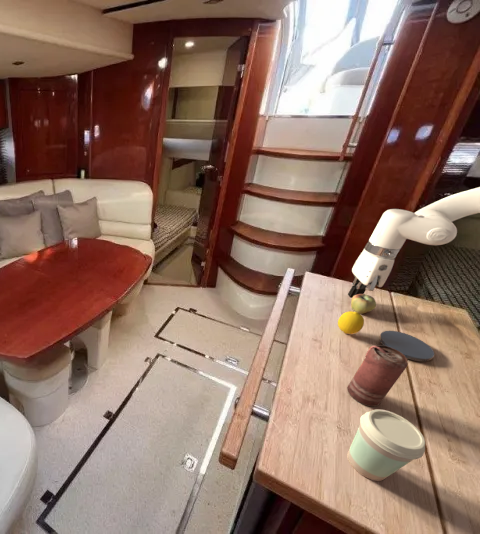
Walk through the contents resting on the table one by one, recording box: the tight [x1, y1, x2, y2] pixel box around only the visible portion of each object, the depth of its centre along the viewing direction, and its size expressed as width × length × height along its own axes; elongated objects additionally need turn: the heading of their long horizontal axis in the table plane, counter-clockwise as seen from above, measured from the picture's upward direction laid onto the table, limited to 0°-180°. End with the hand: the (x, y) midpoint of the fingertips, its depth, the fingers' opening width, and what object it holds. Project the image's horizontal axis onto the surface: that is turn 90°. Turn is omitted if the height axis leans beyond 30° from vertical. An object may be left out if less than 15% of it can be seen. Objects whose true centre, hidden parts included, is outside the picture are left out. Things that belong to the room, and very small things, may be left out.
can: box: [346, 344, 409, 407], centre depth 69 cm, size 6×6×14 cm
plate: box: [378, 330, 435, 362], centre depth 85 cm, size 11×11×2 cm
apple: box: [350, 293, 377, 315], centre depth 99 cm, size 6×8×6 cm
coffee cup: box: [346, 408, 426, 482], centre depth 57 cm, size 8×8×12 cm
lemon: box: [337, 310, 365, 335], centre depth 89 cm, size 6×6×8 cm
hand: (353, 296), depth 103 cm, fingers closed
